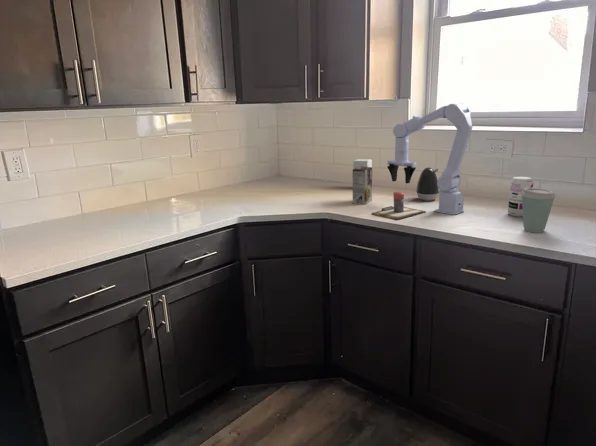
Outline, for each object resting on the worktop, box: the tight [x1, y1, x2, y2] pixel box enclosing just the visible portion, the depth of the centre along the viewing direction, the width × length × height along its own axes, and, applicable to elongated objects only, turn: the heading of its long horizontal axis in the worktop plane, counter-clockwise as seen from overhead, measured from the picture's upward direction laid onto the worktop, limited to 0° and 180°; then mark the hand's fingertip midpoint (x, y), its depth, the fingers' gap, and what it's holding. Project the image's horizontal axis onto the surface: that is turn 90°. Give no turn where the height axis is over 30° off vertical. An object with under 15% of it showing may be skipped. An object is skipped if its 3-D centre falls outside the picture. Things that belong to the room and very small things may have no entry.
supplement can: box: [507, 175, 534, 218], centre depth 187 cm, size 8×8×15 cm
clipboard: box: [371, 205, 427, 221], centre depth 197 cm, size 14×18×2 cm
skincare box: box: [352, 158, 373, 169], centre depth 249 cm, size 8×7×16 cm
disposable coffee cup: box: [521, 187, 556, 234], centre depth 165 cm, size 11×11×15 cm
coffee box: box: [352, 166, 373, 206], centre depth 218 cm, size 9×6×16 cm
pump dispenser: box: [415, 167, 440, 202], centre depth 219 cm, size 10×10×15 cm
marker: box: [393, 191, 405, 213], centre depth 196 cm, size 4×4×8 cm
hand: (400, 182), depth 209 cm, fingers open, 7 cm apart
